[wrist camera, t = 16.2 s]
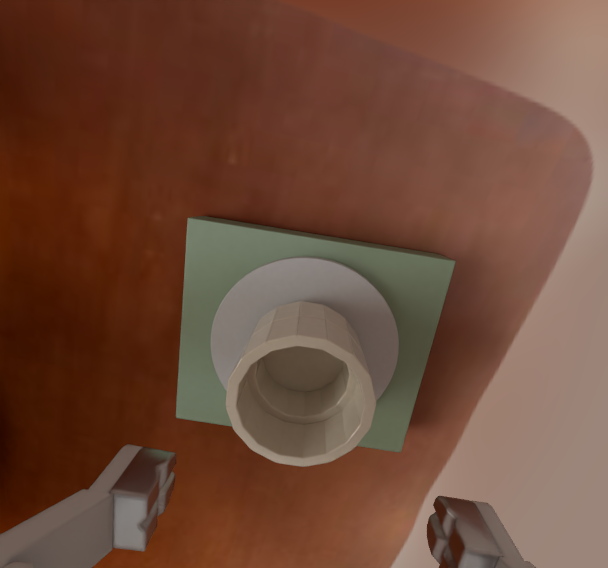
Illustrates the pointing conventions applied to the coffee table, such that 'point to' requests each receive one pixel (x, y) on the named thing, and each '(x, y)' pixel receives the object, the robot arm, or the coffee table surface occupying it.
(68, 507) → the robot arm
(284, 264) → the scale
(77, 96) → the coffee table surface
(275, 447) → the white cup
